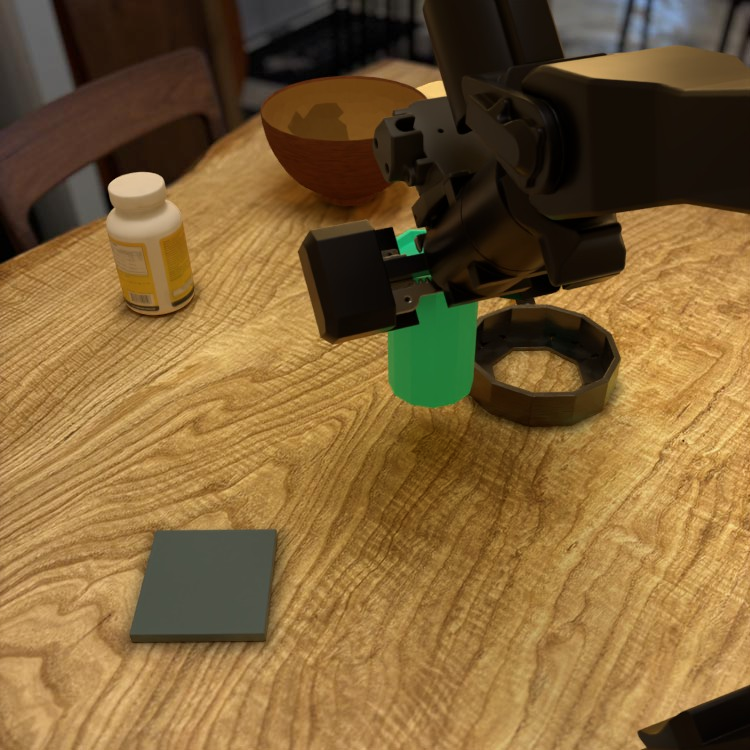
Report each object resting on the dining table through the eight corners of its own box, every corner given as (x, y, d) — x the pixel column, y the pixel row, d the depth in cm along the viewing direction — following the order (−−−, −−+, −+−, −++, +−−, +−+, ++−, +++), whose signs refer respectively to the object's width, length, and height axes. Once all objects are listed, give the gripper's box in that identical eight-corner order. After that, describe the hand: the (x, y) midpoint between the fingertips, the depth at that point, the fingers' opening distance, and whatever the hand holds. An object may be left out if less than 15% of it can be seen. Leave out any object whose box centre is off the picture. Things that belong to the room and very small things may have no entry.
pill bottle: (200, 278, 82) (181, 165, 74) (190, 317, 77) (169, 200, 69) (132, 280, 82) (106, 167, 74) (118, 319, 77) (89, 202, 69)
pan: (628, 424, 65) (635, 394, 63) (470, 427, 65) (473, 397, 63) (560, 237, 87) (564, 210, 85) (442, 239, 87) (443, 213, 85)
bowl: (416, 238, 87) (418, 145, 81) (249, 226, 90) (238, 135, 83) (436, 163, 100) (439, 79, 94) (291, 155, 103) (284, 72, 97)
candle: (372, 372, 61) (368, 222, 54) (442, 346, 63) (447, 198, 56) (417, 419, 57) (419, 263, 50) (490, 389, 59) (502, 236, 52)
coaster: (277, 536, 57) (276, 528, 56) (265, 641, 51) (264, 633, 50) (157, 538, 57) (155, 529, 56) (131, 642, 51) (128, 634, 50)
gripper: (630, 40, 45) (515, 157, 60) (293, 90, 40) (259, 203, 56) (691, 239, 44) (559, 307, 59) (353, 314, 40) (303, 368, 55)
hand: (424, 292), depth 57 cm, fingers closed on candle, 5 cm apart
